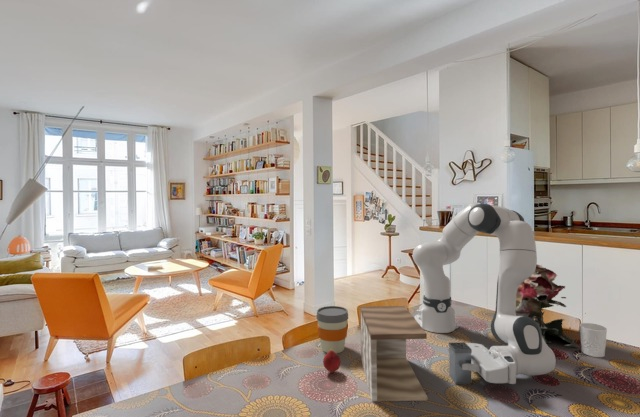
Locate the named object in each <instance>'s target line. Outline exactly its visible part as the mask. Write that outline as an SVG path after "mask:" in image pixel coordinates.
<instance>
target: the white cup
mask: <svg viewBox="0 0 640 417" xmlns="http://www.w3.org/2000/svg"><path fill="white" fill-rule="evenodd" d="M607 329H608V328H607V327H605V326H603V325H601V324H597V323H593V322H592V323H591V322H582V323H579V337H580V345H581V352H582V353H583V354H584V355H587V356H589V357H593V358H604V357H605V356H606V355H605V354H606V348H607V347H606V346H607V332H608V330H607Z"/></svg>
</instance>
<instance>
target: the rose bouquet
mask: <svg viewBox="0 0 640 417" xmlns="http://www.w3.org/2000/svg"><path fill="white" fill-rule="evenodd" d="M557 276H558V274H557V273H556V272H555V271H553V270H551V269H548V268H546V267H543V266H542V264H541V265H540V264H538V263H537V264H536V269H535V272H534V273H533V274H532V275H531V276H530V277H529V278H527V279H526V280H525V281H523V282H522V283H521V285H520V286H519V287H518V289H517V293H516V316H526V317H530V318H532V319H533V320H535V321H536V322H537V323H538V325H539V326H540V329H541V333H542V337H543V339H544V341H545V343H546V344H551V345H553V344H554V342H553V341H550V340H548V339H546V334H547V335H548V336H551V337H555V338H558V339H559V338H560V339H561V340H563V341H565V342H567V343H569V344H564V347H565V346H566V347H571V348H576V349H578V347H579V345H577V343H573V342H574V341H573V339H571V338H570V337H567V336H566V335H564V331H563V330H564V329H563V321H565V319H563V318H560V319H559V318H558V319H554V320H550V321H549V322H546V323H545V321H544V313H545V312H546V310H544V309H546V308H551V307H552V308H553V307H555V306H554V305H556V306H560V307H563V308H567V305H566V304H565V303H562V302H561V301H558V300H555V299H554V298H556V296H558V295H559V293H560V292H561V291H562V290H564V289H566V285H558V284H557V283H555V282H553V281H555V279H556V277H557ZM560 298H561V299H567V297H565V296H561V297H560ZM584 314H586V312H585V313H584Z"/></svg>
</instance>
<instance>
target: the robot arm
mask: <svg viewBox="0 0 640 417" xmlns="http://www.w3.org/2000/svg"><path fill="white" fill-rule="evenodd" d="M441 233H442V235H441V237H440V238H439V239H437V240H435V241H428V242H423V243H421V244H418V245H417V246H415V248H413V251H412V259H413V262H414V264H416V266H418V268H419V269H420V271H421V273H422V277H423V286H424V288H423V289H424V291H423V292H424V294H423V297H422V304H421V305H420V306H419V307H418V309H416V310H415V313H416V314H415V315H413V317H414V318H415V320H416V321H417V322H418V324H419V325H420V326H421V327H422V329H423V330H424V331H426V332H427V331H428V332H431V333H436V334H437V333H438V334H447V333H451V332H452V333H453V332H454V331H455V330H456V329H459V327H460V326H459V324H458V323H456V312H455V309H454V307H452V301H453V300H452V297H451V280H450V278H449V277H448V276H447V275H446V274H445V271H444V266H445V265H450V264H452V263H455V262H457V261H458V259H460V256H461V252H462V250H463V248H465V246H467V244H468V243H469V242H470V241H471V240H472V239H474V237H475V236H477V235H478V234H479V233H483V234H486V235H490V236H496V237H497V239H498V240H499V270H498V275H497V281H496V282H497V283H496V297H495V298H496V300H495V311H494V314H493V317H492V319H491V323H490V331H491V334H492V336H493V338H494V339H495V340H496V341H497V342H498V343H500V344H503V345H492V346H490V348H488V347H485V346H484V344H481V343H476V342H475V343H474V342H465V343H466V344H467V345H468V346H469V347H470V348H471V349H472V353H471V364H469V363H466V362H461V368H462V369H463V370H469V371H471V372H474V373H478V374H479V375H480V376H481V377H482V378H483V380H484V381H485V382H487V383H492V384H509V385H516V384H517V376H518V375H523V376H540V375H541V376H542V375H546V374H550V373H551V372H553V371H554V369H555V367H556V363H557V362H556V355H555V352H554V351H553V350H552V348H551V347H549V346H548V343H545V341H544V339H543V337H542V333H541V329H540V326H539V325H538V323H537V322H536V321H535V319H534V320H533V319H532V318H530V317H526V316H516V293H517V289H518V287H519V286H520V285H521V283H522V282H523V281H525V280H526V279H527V278H529V277H530V276H531V275H532V274H533V273H534V272H535V269H536V264H538V261H537V260H538V257H537V245H536V238H535V235H534V231H533V228H532V225H530V224H529V223H528V222H526V221H525V219H524V216H522V215H521V214H520V213H519V212H517V211H515V210H512V209H509V208H507V207H506V208H505V207H503V206H500V205H499V206H497V205H492V204H489V203H478V202H473V203H470V204H469V205H467V206H465V207H464V208H463V209H461V210H460V211H459V212H458V213H457V214H455V216H454V217H453V218H452V219H451V220H450V221H449V222H448V223H447V224H446V225H445V226H444V227H443V229H442V232H441Z"/></svg>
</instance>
